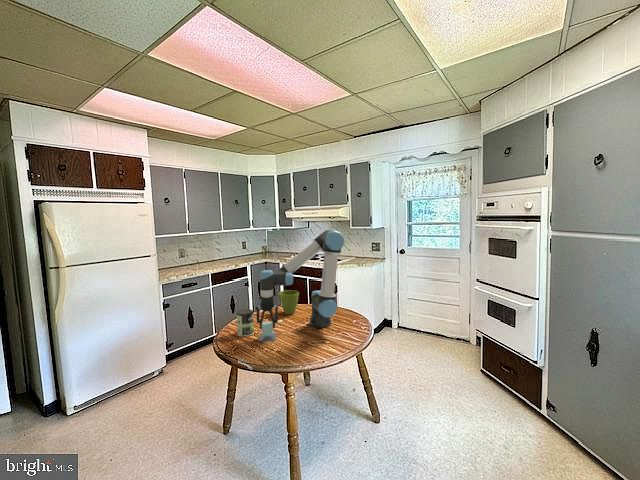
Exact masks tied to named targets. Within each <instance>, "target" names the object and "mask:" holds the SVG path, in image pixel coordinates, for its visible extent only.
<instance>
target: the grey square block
mask: <svg viewBox="0 0 640 480" xmlns="http://www.w3.org/2000/svg"><path fill="white" fill-rule="evenodd" d="M277 336H278V333H277V332H273V334H272V335H271V336H263V334H262V332H261V333H260V334H259V338H258V341H257V342H275V341H276V340H277Z"/></svg>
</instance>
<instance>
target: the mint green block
mask: <svg viewBox="0 0 640 480" xmlns="http://www.w3.org/2000/svg"><path fill="white" fill-rule="evenodd" d="M263 322H264V323H263V336H271V335H272V321H263Z"/></svg>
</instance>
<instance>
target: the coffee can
mask: <svg viewBox="0 0 640 480" xmlns="http://www.w3.org/2000/svg"><path fill="white" fill-rule="evenodd" d="M235 314H236V333H237V336H238V337H250V336H252V335H253V334H254V333H255V331H254V310H252V309H249V308H247V309H240V310H237V311H236V313H235Z"/></svg>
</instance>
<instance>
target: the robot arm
mask: <svg viewBox="0 0 640 480" xmlns="http://www.w3.org/2000/svg"><path fill="white" fill-rule="evenodd" d="M344 245H345V237H344V235H343V234H342V233H341V232H340V231H337V230H331V229H328V230H324V231H322V232H321V233H320V234H319V235H318V236H317V237H315V238H314V239H313V240H312V242H311V243H310V244H309V245H307V246H306V247H305V248H303V250H301V251H300V252H299V253H297V254H296V255H295V256H294V257H292V258H291V259H290V260H289V261H288V262H286V263H285V264H283V266H281V267H280V268H276V270H274V271H273V270H271V269H264V270H261V271H260V273H259V275H260V277H259V279H260V280H259V281H260V282H259V283H260V284H259V285H260V304H259V305H256V306H255V310H256V323H258V324H259V329H260V330H261V333H262V334H263V323H264V322H265V321H264V317H265V312H269V316H270V318H271V322H272V334H273V333H274V329H276V328H275V327H276V323H278V321H279V314H278V313H279V310H278V309H279V305H275V303H274V287H279V286H280V287H281V286H291V285H293V284H294V275H293V273H295V272H296V271H297V270H298V269H299V268H301V267H302V266H304V265H305V264H306V263H307V262H308V261H310V260H312V258H313V257H315V256H316V255H317V254H318V253H320V252H323V254H324V255H323V256H324V257H323V266H322V276H321V283H320V284H321V285H320V290H313V291H312V292H311V315H310V316H309V317H310V318H309V321H308V323H309V326H310V327H313V328H318V329H319V328H320V329H324V327H325V328H328V326H329V327H331V326H332V324H331V323H332V316H335V314H336V313H337V311H338V305H337V304H338V303H337V302H336V301H337V295H336V293H335V289H336V288H335V287H336V279H337V268H338V260H339V255H340V254H341V252H342V248H343V247H344ZM273 308H274V312H275V314H274V313H273ZM260 309H261V310H262V313H261V317H260ZM274 315H275V316H274Z"/></svg>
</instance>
